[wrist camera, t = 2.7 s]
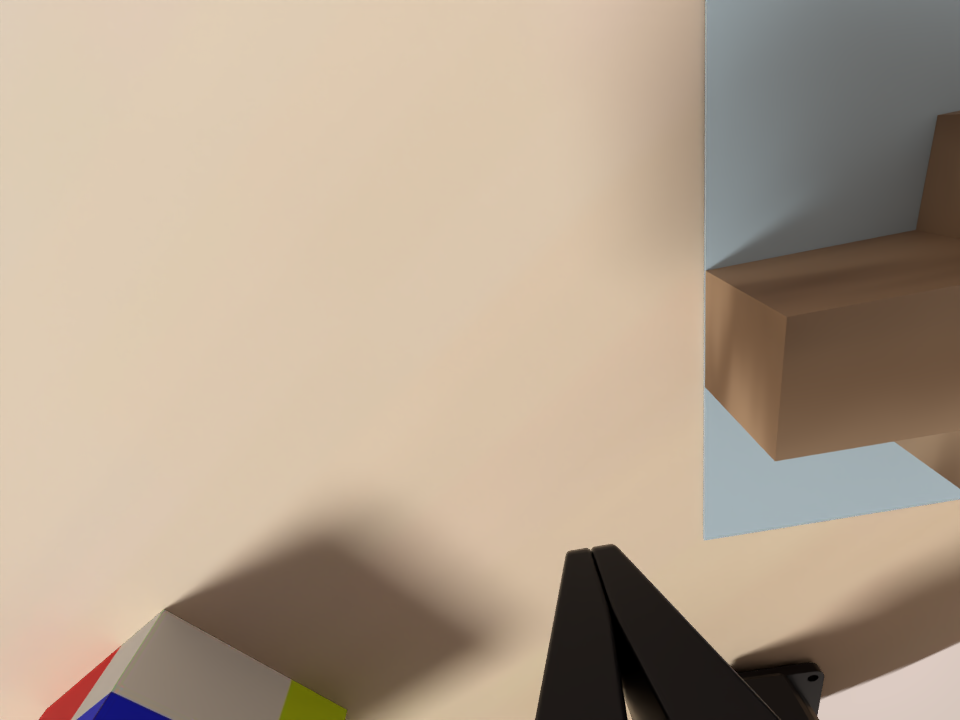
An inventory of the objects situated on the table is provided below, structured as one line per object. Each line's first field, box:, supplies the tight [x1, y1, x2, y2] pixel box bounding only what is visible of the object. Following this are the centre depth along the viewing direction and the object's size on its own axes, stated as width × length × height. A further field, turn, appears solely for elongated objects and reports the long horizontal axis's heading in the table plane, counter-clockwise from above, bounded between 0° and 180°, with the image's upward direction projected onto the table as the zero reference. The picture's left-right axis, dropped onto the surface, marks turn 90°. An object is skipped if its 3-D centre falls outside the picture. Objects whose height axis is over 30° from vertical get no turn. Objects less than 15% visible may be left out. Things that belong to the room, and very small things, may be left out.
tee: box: [705, 111, 960, 489], centre depth 13 cm, size 10×10×4 cm
